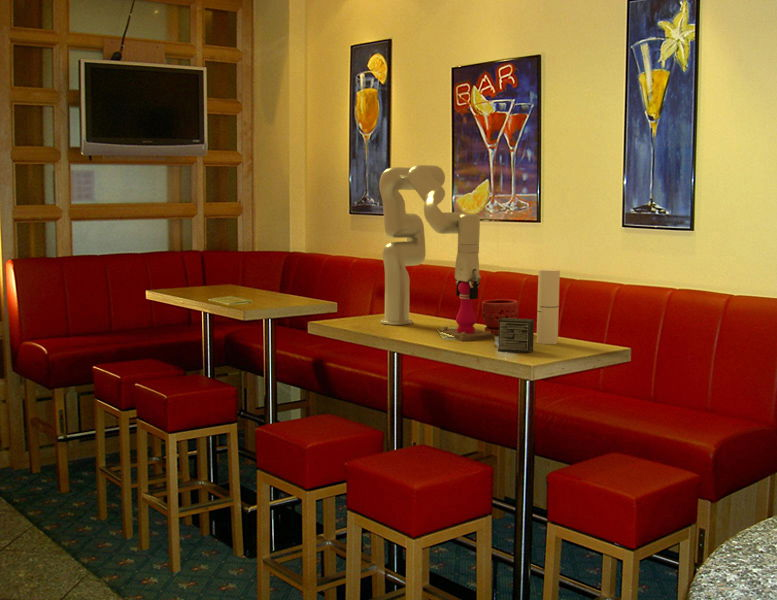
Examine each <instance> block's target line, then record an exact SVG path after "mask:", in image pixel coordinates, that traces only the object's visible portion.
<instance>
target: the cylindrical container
mask: <svg viewBox="0 0 777 600" xmlns="http://www.w3.org/2000/svg"><path fill="white" fill-rule="evenodd" d="M537 275H538V277H537V278H538V281H537V282H538V283H537V311H536V312H537V314H536V315H537V316H536V320H537V321H536V343H538V344H543V345H556V344H558V340H559V338H558V337H559V315H560V314H559V313H560V312H559V309H560V280H561V279H560V278H561V277H560V276H561V270H560V269H554V268H541V269H540V268H539V269H538V273H537Z"/></svg>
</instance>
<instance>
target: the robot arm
mask: <svg viewBox="0 0 777 600" xmlns="http://www.w3.org/2000/svg"><path fill="white" fill-rule="evenodd" d="M445 181H446V175H445V172H444V170H443V169H442V167H440V166H438V165H431V164H430V165H429V164H428V165H427V164H426V165H425V164H417V165H415V166H413V167H402V166H397V167H388V168H386V169H385V170H384V171H383V172H382V173H381V176H380V178H379V183H378V184H379V193H380V195H381V196H380V197H381V200H382V209H383V210H382V211H383V221H384V223H383V224H384V231H385V235H386V236H387V237H389V238H392V239H406V241H404V240H403V241H391V242H389V243H387V244H386V245H385V246H384V248H382V249H383V250H382V260H383V261H382V262H383V265H384V266H383V267H384V318H382V319H380V324H383V325H391V326H403V325H404V326H405V325H406V326H407V325H412V324H413V323H414V320H413V319H412V318H410V287H411V285H410V284H411V283H410V281H411V280H410V276H409V272H408V270H407V268H406V267H411V266H419V265H421V264H422V263H423V262H424V261H425V258H426V251H427V250H426V238H425V237H426V236H425V227H424V226H425V225H424V222H423V220H422V218H421V217H420V216H419V215H418V214H416V213H407V211H406V203H405V200H404V197H403V195H402V194H401V193H400V191H401V190H405V191H407V190H408V191H410V190H411V191H412V190H413V191H415V192H417V194H418V195H419V197H420V199H421V200H422V201H423V203H424V204H423V214H424V218H425V220H426V222H427V223H428V224H429V225H430V227H431V228H432V229H433V231H435V232H436V233H438V234H442V235H447V234H448V235H449V234H450V235H451V234H457V253H456V259H455V268H454V278H455V284H456V285H455V286H456V289H455V290H456V291H455V295H456V297H460V294H461V293H460V292H459V290H458V286H459V284H460V283H461V282H462V281H464V282H468V281H469V284H470V287H471V288H469V299H472V300H478V298H479V288H480V287H479V286H480V284H481V279H482V277H481V274H480V259H479V254H480V233H481V232H480V231H481V229H480V228H481V227H480V226H481V217H480V215H478V214H476V213H465V212H460V211H459V212H458V211H457V212H453V211H451V212H449V211H448V212H443V211H442V210H441V209H440V208H439V206H438V205H440V203H442V201H443V200H444V198H445V197H446V196H445V195H446V191H445V189H444V187H443V186H444V184H445ZM472 282H473V283H472Z"/></svg>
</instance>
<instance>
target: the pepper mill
mask: <svg viewBox="0 0 777 600" xmlns="http://www.w3.org/2000/svg"><path fill="white" fill-rule="evenodd" d="M472 283H474V282H472ZM469 288H471V287H470V284H469V281H468V282H464V281H462V282H461V283H460V284H459V286H458V290H459V292H460V293H461V294H460V296H458V297H459V298H460V305H459V306H460V307H459V310H458V312H457V314H456V317H455V322H456V323H457V325H458V326H457V327H456V329H457V332H458V333H462V332H466V333H474V332H475V329H476V328H475V326H474V325H475V324H476V323H477V316H476V313H475V311H474V308H473V299H469Z"/></svg>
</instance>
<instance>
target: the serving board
mask: <svg viewBox="0 0 777 600" xmlns="http://www.w3.org/2000/svg"><path fill="white" fill-rule="evenodd" d="M440 332H443V333H446V334H449V335H452V336H454V337H455V339H454V340H456V341H461V342H467V341H468V342H469V341H471V342H472V341H485V340H494V339H496V335H495V334H491V331H487V332H486V331H484V330H480V329H476V328H475V332H474V333H466V332H462V333H458V332H457V328H449V329H448V326H443V329H439V333H440Z"/></svg>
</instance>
